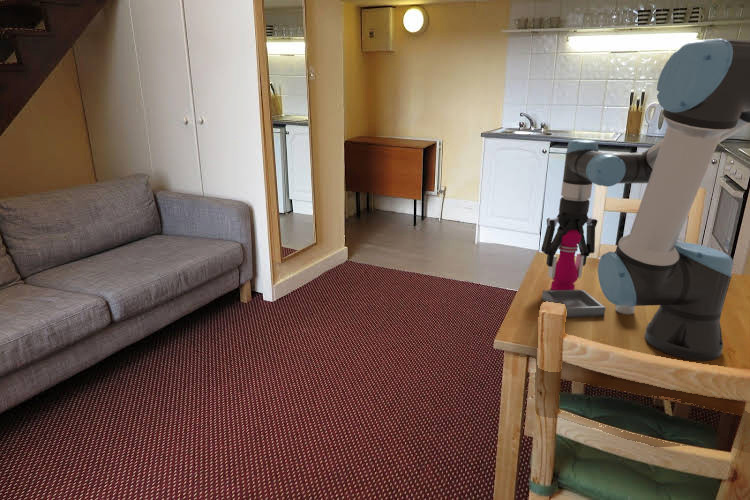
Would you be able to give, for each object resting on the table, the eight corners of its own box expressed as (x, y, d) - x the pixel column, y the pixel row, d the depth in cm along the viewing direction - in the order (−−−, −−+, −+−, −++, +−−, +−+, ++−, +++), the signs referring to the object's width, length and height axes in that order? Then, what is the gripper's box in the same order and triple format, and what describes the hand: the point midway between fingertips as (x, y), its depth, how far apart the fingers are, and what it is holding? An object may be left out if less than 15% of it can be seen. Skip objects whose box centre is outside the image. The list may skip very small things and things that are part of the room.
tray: (604, 316, 127) (605, 307, 126) (560, 317, 126) (561, 308, 125) (582, 297, 138) (583, 289, 137) (541, 299, 137) (542, 290, 136)
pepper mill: (571, 296, 139) (581, 227, 133) (545, 290, 143) (554, 223, 137) (578, 288, 144) (588, 222, 138) (553, 282, 149) (562, 218, 142)
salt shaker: (637, 314, 129) (644, 277, 126) (621, 314, 128) (627, 278, 125) (627, 306, 133) (634, 271, 130) (611, 307, 132) (618, 272, 129)
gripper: (603, 194, 140) (591, 270, 147) (534, 195, 138) (525, 272, 145) (617, 200, 133) (604, 280, 140) (545, 201, 131) (535, 282, 138)
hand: (564, 276), depth 143 cm, fingers closed on pepper mill, 7 cm apart
